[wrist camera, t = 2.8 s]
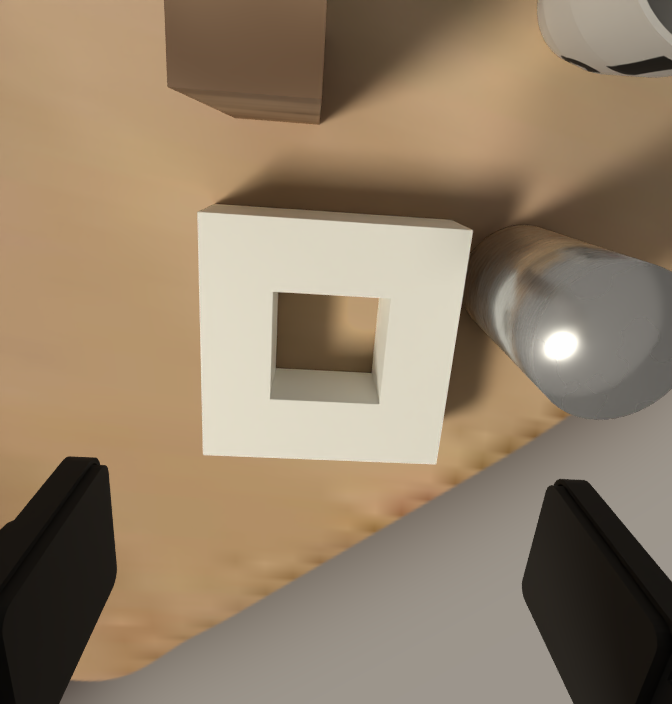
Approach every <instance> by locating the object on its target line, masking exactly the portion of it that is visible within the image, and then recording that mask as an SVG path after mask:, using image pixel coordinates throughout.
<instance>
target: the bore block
mask: <svg viewBox="0 0 672 704" xmlns="http://www.w3.org/2000/svg"><path fill="white" fill-rule="evenodd" d="M197 213H198V256H199V299H200V343H201V386H202V429H203V455H216V456H241V457H266V458H291V459H316V460H341V461H365V462H390V463H415V464H436V462H437V456H438V449H439V443H440V437H441V431H442V424H443V418H444V412H445V405H446V399H447V393H448V386H449V380H450V374H451V367H452V361H453V355H454V348H455V342H456V336H457V329H458V323H459V317H460V310H461V304H462V298H463V291H464V285H465V279H466V272H467V266H468V260H469V253H470V247H471V241H472V234H473V230H471V229H469V228H467V227H465V226H463V225H461V224H459V223H457V222H455V221H453V220H446V219H431V218H417V217H402V216H387V215H372V214H358V213H343V212H328V211H313V210H298V209H284V208H269V207H254V206H239V205H224V204H213V205H211V206H209V207H207V208H205V209H203V210H201V211H198V212H197ZM278 292H286V293H303V294H320V295H338V296H355V297H372V298H379V303H378V313H377V323H376V333H375V343H374V353H373V363H372V373H362V372H342V371H322V370H302V369H282V368H276V348H277V316H278Z"/></svg>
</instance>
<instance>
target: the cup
mask: <svg viewBox="0 0 672 704" xmlns="http://www.w3.org/2000/svg"><path fill="white" fill-rule="evenodd" d="M537 16H538V23H539V28H540V31H541V34H542V36H543V38H544V40H545V42H546V44H547V45H548V47H549V48H550V49H551V50H552V51H553V52H554V53H555V54H556V55H557V56H559V57H560V58H562V59H563V60H565V61H567V62H569V63H572V64H574V65H576V66H578V67H580V68H582V69H584V70H586V71H589V72H593V73H597V74H606V75H621V76H636V77H667V76H672V0H538V3H537Z"/></svg>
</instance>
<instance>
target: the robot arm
mask: <svg viewBox="0 0 672 704" xmlns="http://www.w3.org/2000/svg"><path fill="white" fill-rule="evenodd" d="M116 573H117V564H116V552H115V541H114V529H113V518H112V506H111V495H110V483H109V472H108V468H107V466H106V465H100V462H99V460H98V459H97V458H91V457H70V456H69V457H66V458H65V459H64V460H63V461H62V462H61V463H60V465H59V466H58V467H57V468H56V470H55V471H54V472H53V473H52V474H51V476H50V477H49V478H48V479H47V481H46V482H45V483H44V484H43V485H42V487H41V488H40V489H39V490H38V492H37V493H36V494H35V495H34V497H33V498H32V499H31V500H30V501H29V503H28V504H27V505H26V506H25V508H24V509H23V510H22V511H21V512H20V514H19V515H18V516H17V517H16V519H15V520H14V521H11V522H8V523H7V524H6V525H5V526H4V527H3V528H2V529H1V530H0V704H59V703H60V701H61V699H62V696H63V694H64V692H65V690H66V688H67V686H68V683H69V681H70V679H71V677H72V675H73V673H74V670H75V668H76V666H77V664H78V662H79V660H80V657H81V655H82V653H83V651H84V649H85V647H86V645H87V642H88V640H89V638H90V636H91V634H92V632H93V629H94V627H95V625H96V623H97V621H98V619H99V616H100V614H101V612H102V610H103V608H104V606H105V603H106V601H107V599H108V597H109V595H110V593H111V591H112V588H113V586H114V583H115V579H116ZM522 592H523V597H524V599H525V602H526V604H527V606H528V608H529V610H530V612H531V614H532V617H533V619H534V621H535V623H536V625H537V627H538V629H539V631H540V633H541V636H542V638H543V640H544V642H545V644H546V646H547V648H548V650H549V652H550V655H551V657H552V659H553V661H554V663H555V665H556V667H557V669H558V671H559V674H560V676H561V678H562V680H563V682H564V684H565V687H566V689H567V690H568V693H569V695H570V697H571V699H572V701H573V703H574V704H672V582H671V580H670V579H669V578H668V577H667V576H666V574H665V573H664V572H663V571H662V570H661V569H660V567H659V566H658V565H657V564H656V562H655V561H654V560H653V559H652V558H651V557H650V555H649V554H648V553H647V552H646V550H645V549H644V548H643V547H642V546H641V544H640V543H639V542H638V541H637V540H636V538H635V537H634V536H633V535H632V534H631V533H630V531H629V530H628V529H627V528H626V526H625V525H624V524H623V523H622V522H621V520H620V519H619V518H618V517H617V516H616V514H615V513H614V512H613V511H612V510H611V508H610V507H609V506H608V505H607V504H606V502H605V501H604V500H603V499H602V498H601V497H600V495H599V494H598V493H597V492H596V491H595V489H594V488H593V487H592V486H591V485H590V483H588V482H587V481H585V480H569V479H559V480H557V481H556V482H555V484H554V486H553V485H551V486H549V487H548V488H547V490H546V493H545V497H544V501H543V504H542V508H541V512H540V516H539V520H538V523H537V527H536V531H535V535H534V539H533V542H532V547H531V550H530V554H529V558H528V562H527V565H526V569H525V573H524V577H523V581H522Z"/></svg>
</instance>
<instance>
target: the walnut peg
mask: <svg viewBox="0 0 672 704" xmlns="http://www.w3.org/2000/svg"><path fill="white" fill-rule="evenodd" d="M164 10H165V35H166V61H167V86H168V87H169V88H171V89H173V90H175V91H178V92H180V93H182V94H184V95H186V96H188V97H191V98H193V99H195V100H197V101H199V102H201V103H204V104H206V105H208V106H210V107H212V108H214V109H217V110H219V111H221V112H223V113H225V114H227V115H230V116H232V117H234V118H242V119H254V120H267V121H280V122H293V123H306V124H319V122H320V112H321V102H322V85H323V67H324V48H325V30H326V11H327V0H164Z"/></svg>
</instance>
